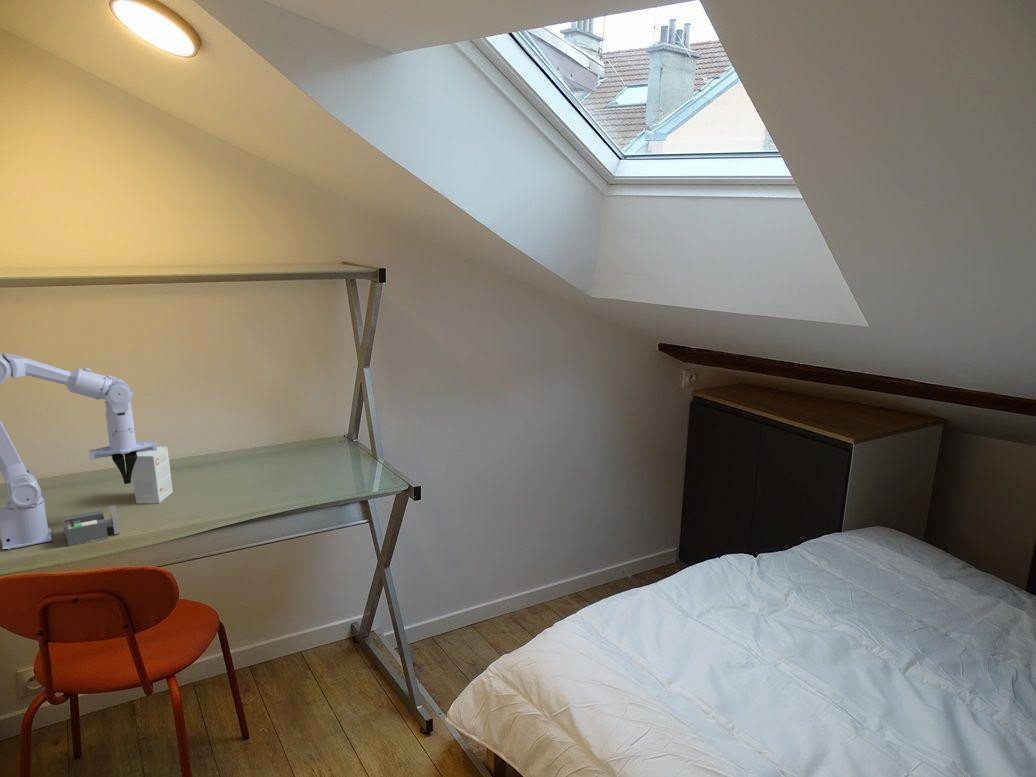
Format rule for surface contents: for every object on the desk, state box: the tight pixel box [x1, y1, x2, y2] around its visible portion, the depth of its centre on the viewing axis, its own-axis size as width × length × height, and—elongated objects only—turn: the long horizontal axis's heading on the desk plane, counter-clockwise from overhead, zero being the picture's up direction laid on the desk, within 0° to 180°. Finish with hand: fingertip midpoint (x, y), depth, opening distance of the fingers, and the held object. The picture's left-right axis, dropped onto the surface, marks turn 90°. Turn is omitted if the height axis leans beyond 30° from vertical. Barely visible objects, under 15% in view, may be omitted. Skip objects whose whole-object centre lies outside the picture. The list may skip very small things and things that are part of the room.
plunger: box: [62, 505, 121, 541], centre depth 181 cm, size 11×8×4 cm
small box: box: [131, 446, 174, 505], centre depth 203 cm, size 8×6×13 cm
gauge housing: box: [63, 509, 109, 547], centre depth 180 cm, size 8×9×4 cm
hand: (127, 482), depth 189 cm, fingers closed
